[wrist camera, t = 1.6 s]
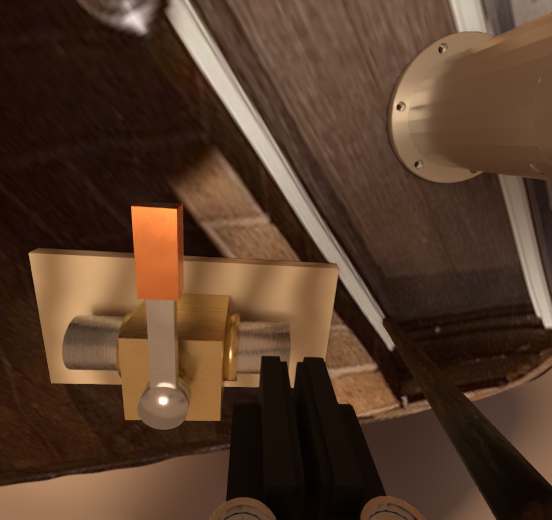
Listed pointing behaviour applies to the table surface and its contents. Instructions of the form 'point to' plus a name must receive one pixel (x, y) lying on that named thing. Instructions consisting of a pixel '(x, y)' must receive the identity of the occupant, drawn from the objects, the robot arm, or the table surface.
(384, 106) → the table surface
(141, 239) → the valve lever
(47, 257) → the mounting board
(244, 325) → the valve body
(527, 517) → the decorative torch
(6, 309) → the table surface
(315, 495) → the robot arm
